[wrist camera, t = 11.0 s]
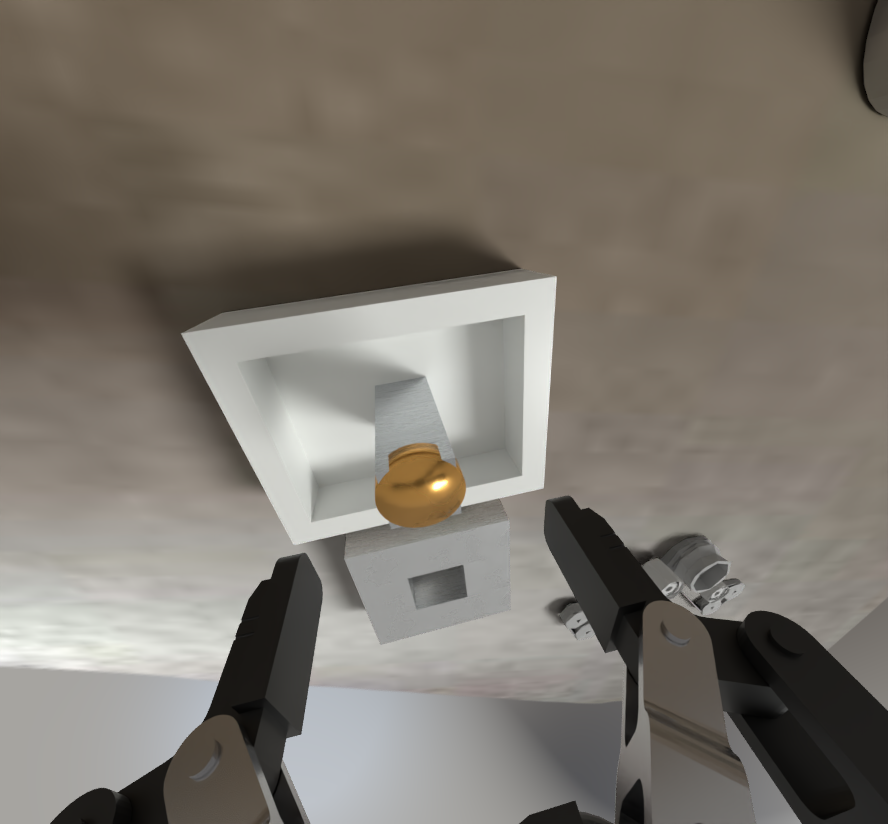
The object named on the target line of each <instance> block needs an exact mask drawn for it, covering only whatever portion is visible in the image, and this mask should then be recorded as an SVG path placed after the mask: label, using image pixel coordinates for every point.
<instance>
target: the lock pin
mask: <svg viewBox="0 0 888 824" xmlns="http://www.w3.org/2000/svg"><path fill="white" fill-rule="evenodd" d="M465 493H466V483H465V479H464V477H463V474H462V471H461V469H460V466H459V463H458V461H457V459H456V458H455V456H454V453H453V450H452V447H451V445H450V442H449V439H448V436H447V434H446V431H445V428H444V425H443V423H442V420H441V417H440V414H439V412H438V409H437V406H436V403H435V401H434V398H433V395H432V392H431V390H430V387H429V384H428V382H427V379H426V377H420V378H415V379H409V380H403V381H398V382H392V383H387V384H381V385H376V386H375V503H376V507H377V509H378V511H379V512H380V514H381V515H382V516H383V517H384V518H385V519H386V520H388V521H389V524H390V527H391V529H396V528H400V527H409V528H419V527H426V526H430V525H434V524H436V523H439V522H441V521H443V520H445V519H446V518H448V517H449V516H452V515H457V514H461V513H462V511H461V503H462V502H463V499H464V497H465Z"/></svg>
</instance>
